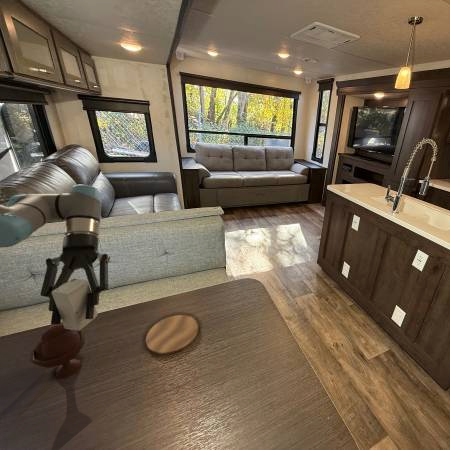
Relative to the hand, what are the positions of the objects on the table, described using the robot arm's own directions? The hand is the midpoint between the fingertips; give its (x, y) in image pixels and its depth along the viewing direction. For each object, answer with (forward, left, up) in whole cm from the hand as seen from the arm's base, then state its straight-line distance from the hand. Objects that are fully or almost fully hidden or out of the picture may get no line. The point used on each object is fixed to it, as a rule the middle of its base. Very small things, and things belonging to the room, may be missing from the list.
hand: (72, 321), depth 63 cm
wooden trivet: (+15, +16, -19) cm, 29 cm away
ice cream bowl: (-7, 0, -19) cm, 20 cm away
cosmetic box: (-1, +3, -4) cm, 5 cm away
